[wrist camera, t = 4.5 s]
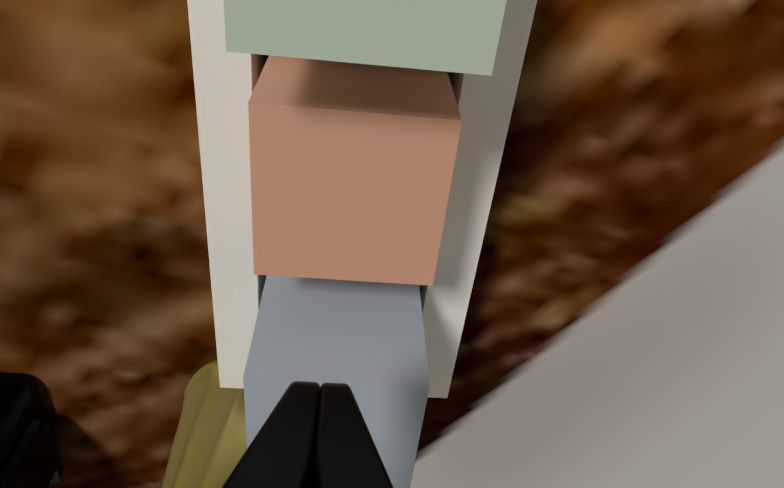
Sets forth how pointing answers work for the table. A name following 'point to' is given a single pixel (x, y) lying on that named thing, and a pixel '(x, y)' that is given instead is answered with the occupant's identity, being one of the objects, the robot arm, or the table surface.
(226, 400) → the vase
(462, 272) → the button board
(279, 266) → the salmon block
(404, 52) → the sage button
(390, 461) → the pale blue block
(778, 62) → the table surface
